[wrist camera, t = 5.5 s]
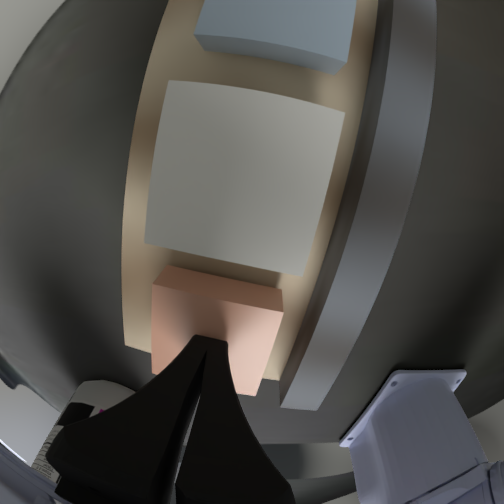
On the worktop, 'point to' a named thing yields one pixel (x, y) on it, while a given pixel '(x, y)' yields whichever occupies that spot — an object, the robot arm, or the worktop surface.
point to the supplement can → (80, 415)
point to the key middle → (240, 174)
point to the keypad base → (338, 193)
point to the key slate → (280, 30)
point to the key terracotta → (215, 320)
